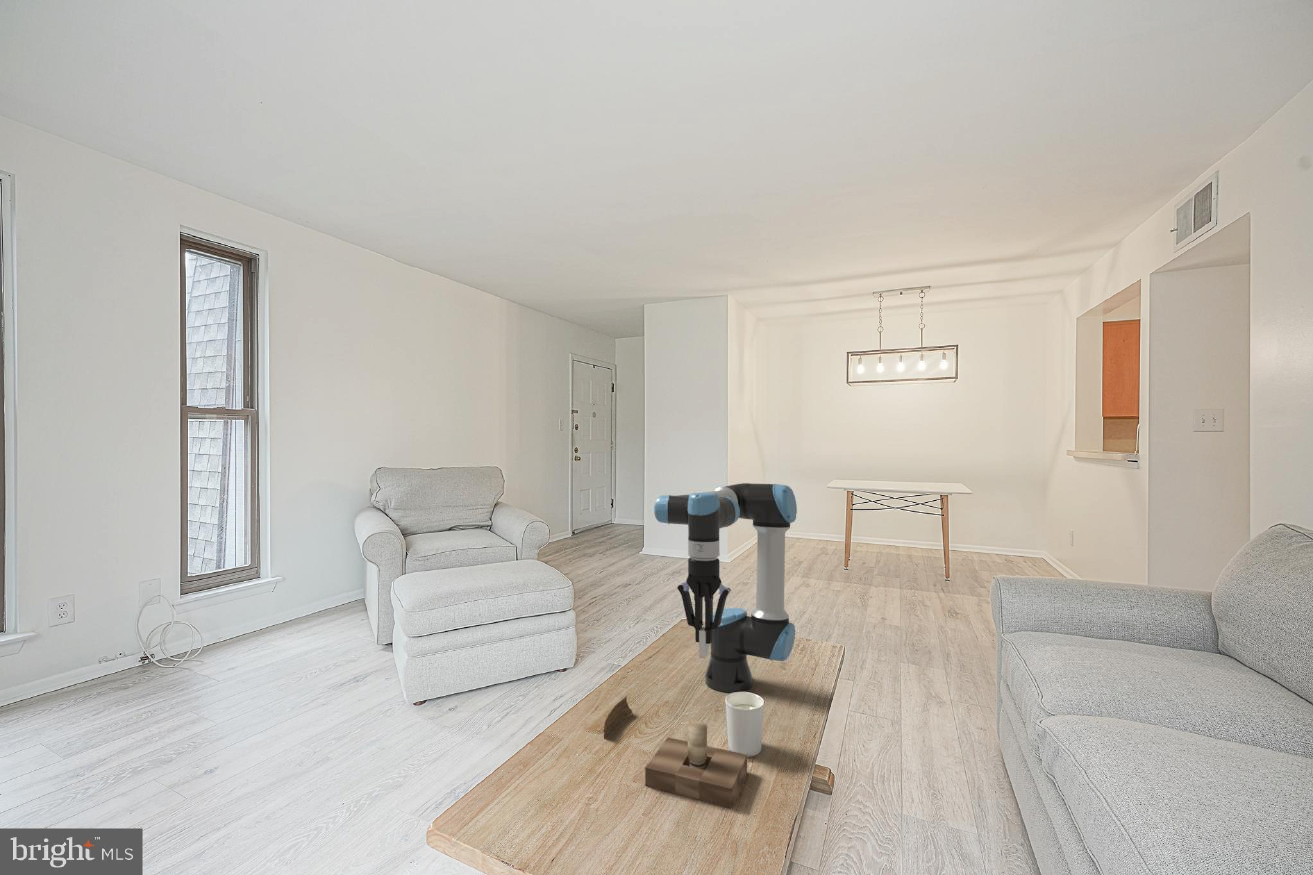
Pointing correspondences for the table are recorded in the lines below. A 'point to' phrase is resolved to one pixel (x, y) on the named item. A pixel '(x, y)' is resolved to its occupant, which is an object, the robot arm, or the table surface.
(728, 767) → the wooden block with hole
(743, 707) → the candle holder
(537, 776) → the table surface
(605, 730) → the wood plank
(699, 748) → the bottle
